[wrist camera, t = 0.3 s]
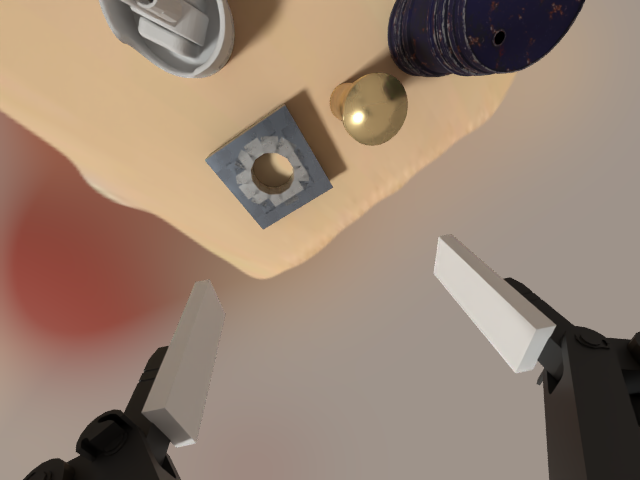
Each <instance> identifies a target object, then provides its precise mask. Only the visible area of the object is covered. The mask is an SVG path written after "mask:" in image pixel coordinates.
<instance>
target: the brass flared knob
mask: <svg viewBox="0 0 640 480" xmlns="http://www.w3.org/2000/svg"><path fill="white" fill-rule="evenodd" d="M330 108H331V111H332V113H333V115H334V116H335V117H336V118H338V119H339V120H341V121H343V124H344V127H345V129H346V131H347V132H348V133H349V135H350V136H351V137H352V138H354V139H355V140H357V141H358V142H360V143H362V144H365V145H371V146H373V145H379V144H382V143H385V142H387V141H388V140H390V139H391V138H392V137H394V136H395V135H396V134H397V132H398V131H399V130H400V128H401V127H402V125H403V123H404V121H405V118H406V114H407V108H408V101H407V95H406V92H405V89H404V87H403V86H402V84H401V83H400V82H399V81H398V80H397V79H396V78H395V77H393V76H392V75H389V74H386V73H371V74H367V75H364V76H362V77H361V78H359V79H358V80H356V81H355V82H354V83H343V84H340V85H339V86H337V87H336V88H335V89H334V91H333V92H332V94H331V97H330Z"/></svg>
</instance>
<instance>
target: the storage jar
mask: <svg viewBox="0 0 640 480" xmlns="http://www.w3.org/2000/svg"><path fill="white" fill-rule="evenodd" d="M584 2H585V0H396V2H395V4H394V7H393V9H392V12H391V15H390V19H389V24H388V45H389V50H390V53H391V56H392V58H393V60H394V62H395V63H396V65H397V66H398V67H399V68H400V69H401V70H402V71H404V72H405V73H407V74H410V75H413V76H424V77H440V76H445V75H449V74H452V73H454V74H457V75H460V76H482V75H491V74H494V73H497V74H500V73H513V72H516V71H520V70H522V69H525V68H527V67H529V66H531V65H533V64H534V63H536V62H537V61H539V60H540V59H541V58H543V57H544V56H545V55H547V54H548V53H549V52H550V51H551V50H552V49H553V48H554V47H555V46H556V45H557V44H558V43H559V42H560V40H561V39H562V38H563V37H564V36H565V34H566V33H567V32H568V30H569V29H570V27H571V26H572V24H573V23H574V21H575V19H576V17H577V16H578V14H579V12H580V11H581V9H582V7H583V4H584Z"/></svg>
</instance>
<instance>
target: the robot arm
mask: <svg viewBox="0 0 640 480" xmlns="http://www.w3.org/2000/svg"><path fill="white" fill-rule="evenodd" d="M434 275H435V276H436V277H437V278H438V279H439V281H440V282H441V283H442V284H443V286H444V287H445V288H446V289H447V290H448V292H449V293H450V294H451V295H452V296H453V298H454V299H455V300H456V301H457V303H458V304H459V305H460V306H461V307H462V309H463V310H464V311H465V312H466V314H467V315H468V316H469V317H470V318H471V319H472V321H473V322H474V323H475V325H476V326H477V327H478V328H479V329H480V331H481V332H482V333H483V334H484V335H485V337H486V338H487V339H488V340H489V342H490V343H491V344H492V345H493V346H494V348H495V349H496V350H497V351H498V353H499V354H500V355H501V356H502V357H503V359H504V360H505V361H506V362H507V364H508V365H509V366H510V367H511V368H512V370H513V371H514V372H515V373H519V372H524V371H528V370H533V368H534V367H535V365H536V363H537V361H539V362H540V363H541V365H543V367H544V370H543V372H542V373H541V375H540V376H539V378H538V381H537V384H538V385H540V384H541V383H542V381H543V388H544V404H545V419H546V436H547V452H548V467H549V480H640V332H638V333H636V334H635V335H634V337H633V338H632V339H631V340H628V339H616V338H606V337H604V336H603V335H601V334H599V333H598V332H596V331H594V330H591V329H588V328H585V327H579V326H574V325H573V324H571V323H570V322H569V321H568V320H566V319H565V318H564V317H563V316H561V315H560V314H559V313H558V312H556V311H555V310H554V309H553V308H552V307H551V306H549V305H548V304H547V303H546V302H544V301H543V300H541V299H540V297H538V296H537V295H536V294H535V293H532V291H531V290H530V289H529V288H527V287H526V286H525V285H524V284H522V283H520V282H518V281H516V280H514V279H512V278H505V279H503V278H501V277H500V276H499V275H498V274H497V273H496V272H494V271H493V270H492V269H491V268H490V267H489V266H487V265H486V264H485V263H484V262H483V261H482V260H481V259H479V258H478V257H477V256H476V255H475V254H474V253H473V252H471V251H470V250H469V249H468V248H467V247H466V246H464V245H463V244H462V243H461V242H460V241H459V240H458V239H456V238H455V237H454V236H453V235H452V234H450V235H444V236H439V239H438V246H437V253H436V260H435V269H434ZM224 319H225V312H224V310H223V308H222V305H221V303H220V301H219V299H218V297H217V295H216V293H215V290H214V288H213V286H212V284H211V282H210V280H205V281H199V282H195V285H194V287H193V290H192V292H191V295H190V297H189V299H188V302H187V304H186V306H185V309H184V311H183V314H182V316H181V318H180V321H179V323H178V326H177V328H176V331H175V333H174V336H173V338H172V340H171V343H170V345H169V346H166V347H161V348H158V349H157V350H156V352H155V353H154V354H153V355H152V356H151V358H150V359H149V360H148V363H147V365H146V367H145V369H144V373H142V376H141V378H140V380H139V383H138V384H137V386H136V388H135V390H134V392H133V395H132V397H131V399H130V401H129V403H128V405H127V407H126V410H125V412H124V413H123V412H122V411H121V410H111V411H107V412H105V413H103V414H102V415H100V416H99V417H97V418H96V419H94V420H93V421H92V422H91V423H90V424H89V425H88V426H87V427H86V429H85V430H84V431H83V432H82V434H81V435H80V437H79V439H78V442H77V445H76V452H77V453H79V454H80V456H78V457H76V458H74V459H72V460H70V461H69V462H67V463H66V462H64V461H63V460H61V459H59V458H57V459H51V460H48V461H46V462H44V463H42V464H40V465H39V466H38V467H36V468H35V469H34V470H32V471H31V472H30V473H29V474H28V475H27V476H26V477H25V478H24V479H23V480H181V479H180V477H179V475H178V473H177V470H176V468H175V466H174V464H173V462H172V460H171V458H170V456H169V455H168V454H167V449H168V446H169V443H170V442H172V444H173V445H174V446H176V447H180V446H185V445H190V444H194V443H196V442H197V437H198V433H199V429H200V424H201V420H202V416H203V411H204V407H205V403H206V398H207V393H208V389H209V385H210V381H211V376H212V372H213V367H214V363H215V359H216V354H217V349H218V345H219V341H220V336H221V332H222V327H223V323H224Z"/></svg>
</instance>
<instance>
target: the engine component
mask: <svg viewBox="0 0 640 480" xmlns="http://www.w3.org/2000/svg"><path fill="white" fill-rule="evenodd" d="M99 3H100V6H101V9H102V12H103V14H104V16H105V19H106V21H107V23H108V25H109V27H110V28H111V30H112V32H113V33H114V34H115V36H116V37H117V38H118V39H119V40H120V41H121V42H123V43H125V44H128V45H130V46H131V47H133V48H134V49H135V50H137V51H138V52H139V53H140V54H142V55H143V56H144V57H145V58H147V59H148V60H149V61H151V62H152V63H153V64H155V65H156V66H158V67H159V68H161V69H162V70H164V71H166V72H168V73H170V74H173V75H176V76H179V77H184V78H203V77H208V76H211V75H213V74H215V73H217V72H218V71H220V70H221V69H222V68H223V67H224V65H225V64H226V63H227V61H228V59H229V58H230V56H231V53H232V50H233V46H234V39H235V29H234V22H233V16H232V13H231V9H230V7H229V4H228V2H227V0H99Z"/></svg>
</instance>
